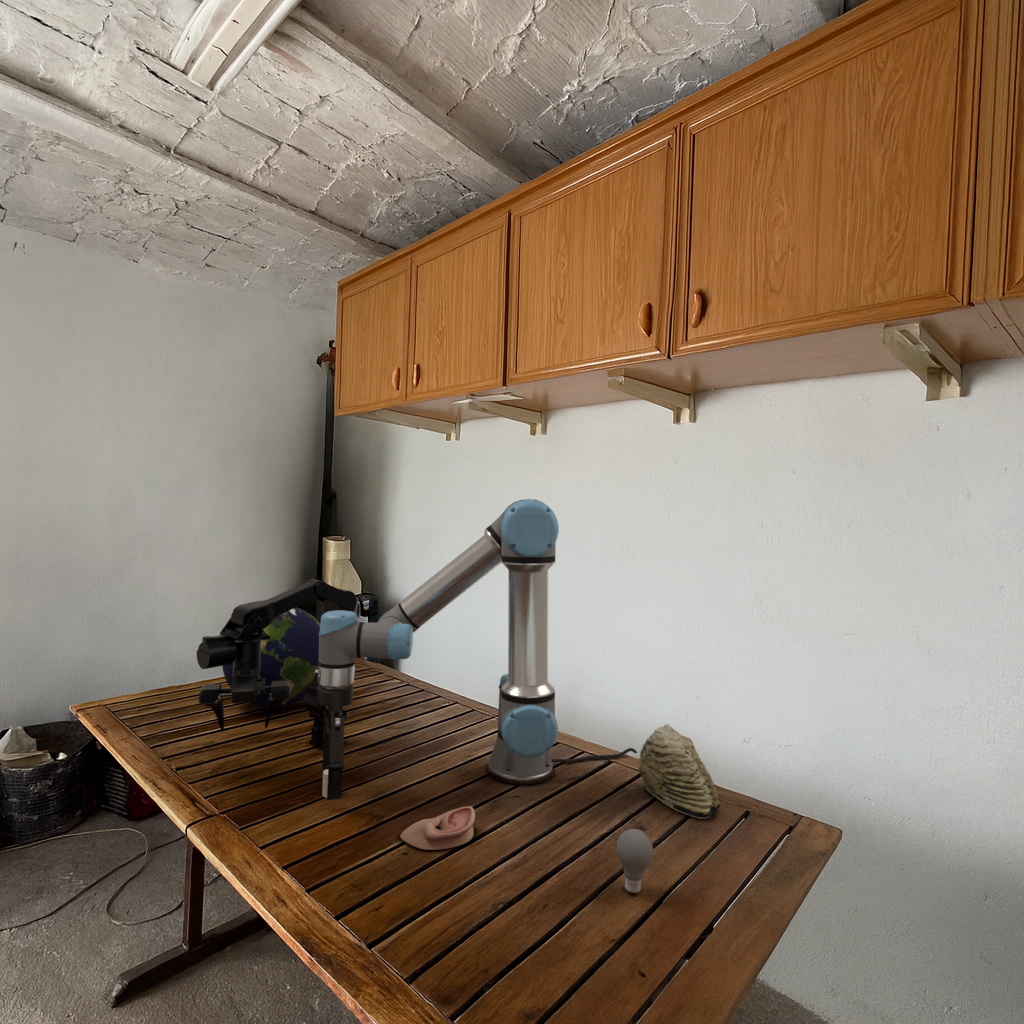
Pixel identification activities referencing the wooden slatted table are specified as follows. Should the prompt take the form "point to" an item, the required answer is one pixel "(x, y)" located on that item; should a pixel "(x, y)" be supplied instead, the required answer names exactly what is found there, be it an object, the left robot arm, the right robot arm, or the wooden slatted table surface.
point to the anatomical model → (442, 830)
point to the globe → (287, 655)
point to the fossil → (677, 774)
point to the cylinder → (325, 783)
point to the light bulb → (634, 857)
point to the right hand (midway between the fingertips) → (331, 785)
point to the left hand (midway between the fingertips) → (244, 729)
